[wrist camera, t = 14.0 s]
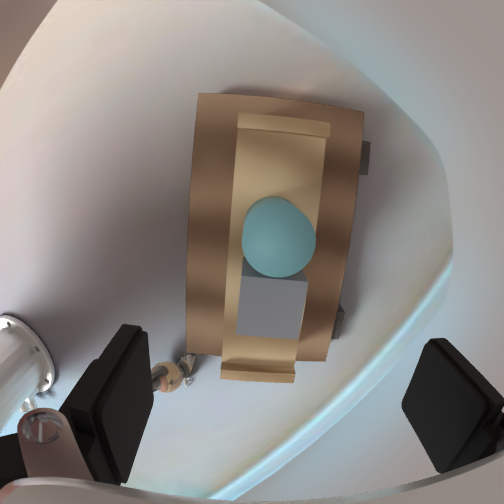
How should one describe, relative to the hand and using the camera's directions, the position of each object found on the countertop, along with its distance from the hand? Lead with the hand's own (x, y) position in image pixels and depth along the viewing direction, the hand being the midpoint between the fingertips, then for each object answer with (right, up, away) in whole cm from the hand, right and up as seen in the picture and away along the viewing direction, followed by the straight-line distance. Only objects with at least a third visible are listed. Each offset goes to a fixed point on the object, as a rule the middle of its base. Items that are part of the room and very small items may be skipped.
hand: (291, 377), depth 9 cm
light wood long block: (0, +4, +17) cm, 18 cm away
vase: (-11, -9, +24) cm, 28 cm away
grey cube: (0, +2, +14) cm, 14 cm away
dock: (0, +6, +20) cm, 21 cm away
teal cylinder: (0, +6, +12) cm, 14 cm away
